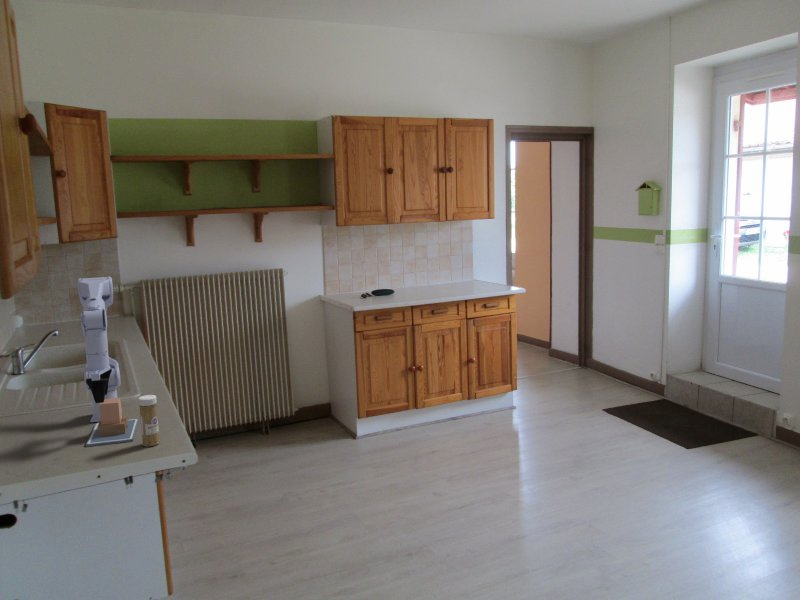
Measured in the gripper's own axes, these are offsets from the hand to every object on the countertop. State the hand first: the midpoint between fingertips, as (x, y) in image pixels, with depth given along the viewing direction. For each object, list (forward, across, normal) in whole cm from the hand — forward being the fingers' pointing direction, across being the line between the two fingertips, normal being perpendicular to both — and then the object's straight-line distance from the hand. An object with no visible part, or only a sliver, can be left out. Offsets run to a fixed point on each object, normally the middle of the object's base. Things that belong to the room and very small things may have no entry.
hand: (101, 398), depth 188 cm
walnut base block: (+10, +1, +2) cm, 11 cm away
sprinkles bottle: (+11, +14, +13) cm, 22 cm away
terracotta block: (+7, +1, +2) cm, 7 cm away
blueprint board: (+10, +1, +2) cm, 11 cm away
